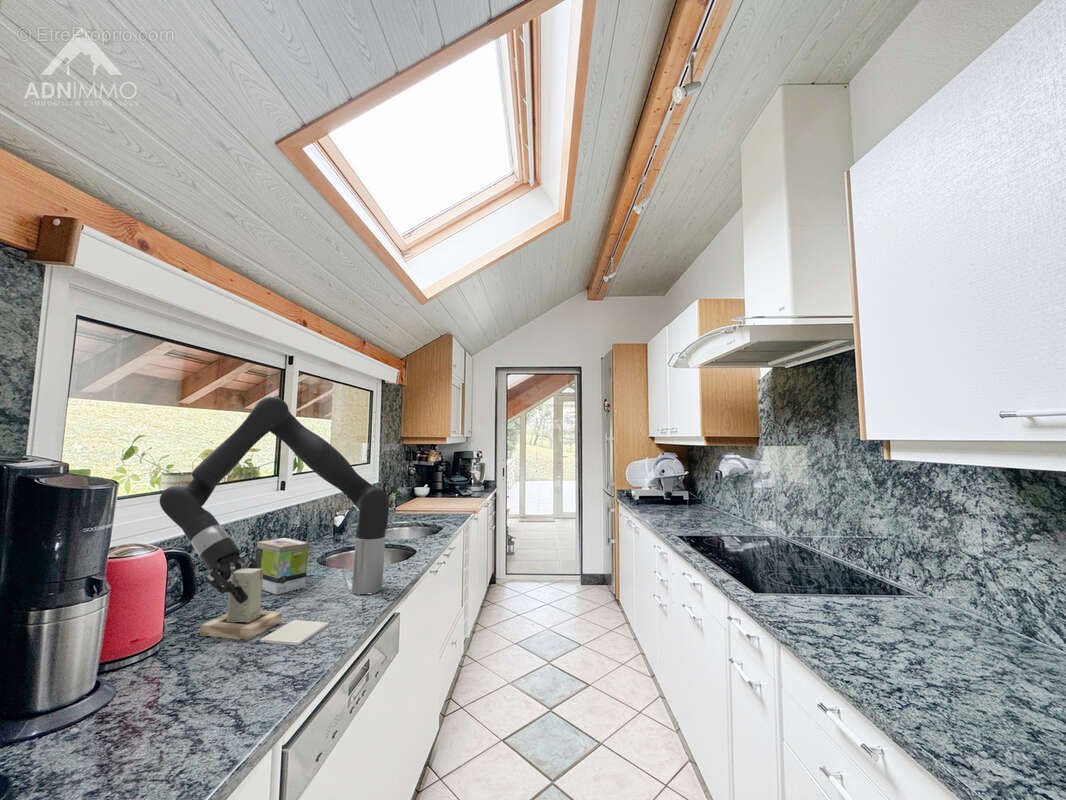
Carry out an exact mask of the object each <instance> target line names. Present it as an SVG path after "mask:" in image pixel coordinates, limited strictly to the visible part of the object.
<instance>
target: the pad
mask: <svg viewBox="0 0 1066 800" xmlns="http://www.w3.org/2000/svg"><path fill="white" fill-rule="evenodd" d="M329 625H330V622H324V621H323V622H322V621H312V620H311V621H310V620H299V619H293V620H292V621H290V622H288V623H286V624H284V625H283V626H281V627H279V628H278V629H276V630H274V631H272V632H271V633H268V634H267V635H266V636H263V637H261V638H260V639H259V642H260V643H264V642H265V643H266V644H267V643H268V644H277V645H278V644H279V645H288V646H289V645H290V646H300V645H301V644H302V643H304V642H306V641H307V640H308V639H311V638H312V637H313V636H314V635H316V634H317V633H319V632H321V631H322V630H323V629H325V628H327V627H329ZM326 626H327V627H326Z"/></svg>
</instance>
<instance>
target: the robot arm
mask: <svg viewBox="0 0 1066 800" xmlns="http://www.w3.org/2000/svg"><path fill="white" fill-rule="evenodd" d="M289 410H290V408H289V405H288V404H287V402H286V401H285V400H283V399H282V398H280V397H277V396H267V397H263V398H262V399H261V398H260V400H258V401H257V402H256V403H255V405H254V407H253V409H252V410H251V412H250V413H249V414H248V415H247V417H246V419H245V420H244V421H243V422H242V423H241V425H239V427H238V428H237V429H236V430H234V432H233V433H231V435H230V436H228V437H227V438H226V439H225V440H224V441H223V442H222V443H220V444H219V445H218V446H217V447H216V448H215V449H214V450H213V451H211V452H210V453H209V454H208V455H207V456H206V457H205V458H204V459H203V460H201V462H200V463H199V464H198V465H197V466H196V467H195V468H193V470H192V472H191V476H192V478H193V479H192V480H191V482H190V483H189V484H188V485H187V486H184V485H180V484H179V485H177V484H176V485H171V486H169V487H167V488H165V489H164V490H163V491H162V493H161V494H160V496H159V506H160V508H161V509H162V511H163V512H164V513H165V514H166V516H167V517H169V519H170V520H172V522H174V523H175V524H176V525H177V526H178V527H179V528H181V530H182V531H183V533H184V534H185V536H186V538H187V539H188V540H189V542H190V543H191V544H192V548H193V550H194V551H195V552H196V554H197V555H198V557H199V558H200V560H201V561H202V562H203V564H204V565H205V566H206V568H207V570H209V571H211V572H209V574H207V575H206V576H205V577H204V580H205V581H206V582H207V583H209V585H210V586H212V587H213V588H214V589H215V590H217V592H219V593H220V594H225V593H228V594H229V593H231V594H232V595H233V597H234V598H235V600H236V601H237V602H239V604H241V603H244V602H245V601H246V600H247V598H248V596H247V595H246V594H245V592H244V591H243V589H242V588H241V587H238V586H239V584H238V582H237V581H236V576H235V575H234V572H235V571H236V570H239V569H246V568H254V569H258V567H257V564H256V562H255V560H256V558H254V557H251V558H250V559H248V560H247V559H244V558H242V557H241V556H240V552H241V551H240V550H241V549H240V548H239V547H238V545H237V544H236V543H235V542H234V540H233V539H232V537H231V536H230V535H229V533H228V532H227V531H226V530H225V529H224V528H223V526H221V524H220V523H219V522H218V520H217V519H216V518H215V517H214V515H213V514H212V513H211V512H210V511H208V510H206V509H205V508H204V507H203V506H204V505H205V503H206V502H207V501H208V499H209V498H210V496H211V495H212V493H213V492H214V490H215V488H216V486H218V484H219V483H220V482H221V481H222V480H223V479H224V478H226V476H227V475H228V474H229V473H230V472H231V471H232V470H233V469H234V468H235V467H236V466H237V465H238V463H240V461H242V459H243V458H244V457H245V456H246V454H247V453H248V452H249V451H250V450H251V449H252V448H253V447H254V446H255V445H256V444H258V442H259V441H260V440H261V439H262V438H264V437H265V436H266V435H267V434H269V433H271V434H272V435H274V436H276V437H277V438H278V439H280V440H281V441H282V442H283V443H285V445H286V446H288V447H289V449H290V450H291V451H292V452H293V453H294V454H295V455H296V456H297V457H298V458H299V459H300V460H301V461H302V463H304V464H305V465H306V466H307V467H308V468H309V469H310V470H312V471H313V472H314V473H315V474H316V475H318V476H319V477H321V478H322V479H323V480H324V481H325V482H327V483H329V484H330V485H332V486H333V487H335V488H336V489H338V490H339V491H341V492H342V493H343V494H344V495H345V496H346V498H348V499H349V500H350V501H351V502H352V503H353V504H354V506H355V507H356V508H357V509H358V510H359V515H358V525H357V528H356V530H355V542H354V543H355V544H354V546H355V547H354V556H353V571H352V573H353V574H352V586H351V593H352V592H353V593H355V594H354V595H356V594H368V593H374V592H377V591H380V590H381V589H382V590H383V586H382V585H383V584H384V583H383V582H384V568H385V567H384V566H385V548H386V547H385V546H386V544H385V543H386V531H387V528H388V523H389V522H388V521H389V511H390V499H389V498H390V497H389V496H388V493H387V492H386V491H385V490H383V489H381V488H378V487H376V486H374V485H373V484H371V483H370V482H368V481H367V480H366V479H364V478H363V477H362V476H360V474H358V473H357V472H356V470H355V469H354V468H353V466H352V465H351V464H350V462H349V461H348V460H347V459H346V457H344V456H343V455H342V453H340V452H339V450H337V449H336V448H335V447H334V446H333V445H332V444H330V443H329V442H328V441H327V440H325V439H324V438H323V437H321V436H320V435H318V434H316V433H314V432H313V431H311V430H310V429H308V428H307V427H305V426H304V425H303V424H302V423H301V422H300V421H299V420H298V419H297V418H296V417H295V416H294V415H293V414H292V413H291V412H290V411H289ZM230 576H231V577H230ZM231 582H232V584H230V583H231ZM221 584H222V585H223V586H222V585H221ZM382 590H381V591H382ZM381 591H380V592H381ZM263 592H264V590H262V593H263ZM353 593H352V594H353Z"/></svg>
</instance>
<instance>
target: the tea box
mask: <svg viewBox="0 0 1066 800" xmlns="http://www.w3.org/2000/svg"><path fill="white" fill-rule="evenodd" d="M309 547H310V542H309V541H308V542H307V541H303V540H298V539H294V538H288V537H282V538H274V539H269V540H268V539H267V540H260V541H257V543H256V549H255V550H256V551H255V562H256V564H257V567H258V569H263V581H262V590H263V591H266V592H267V593H268V592H269V593H271V594H274V595H276V596H277V595H281V594H285V592H286V593H289V591H290V592H292V591H293V590H294V591H297V590H301V589H304V588H305V587H306V584H307V583H306V582H307V571H308V559H309ZM300 588H301V589H300ZM296 589H297V590H296ZM294 591H293V592H294Z"/></svg>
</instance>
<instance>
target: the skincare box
mask: <svg viewBox="0 0 1066 800" xmlns="http://www.w3.org/2000/svg"><path fill="white" fill-rule="evenodd" d="M234 575H235V576H236V581H237V582H238V584H239V586H238V587H241V588H242V589H243V591H244V592H245V594H246V595H247V596H248V598H247V600H246V601H245V602H244V603H241V604H239V602H237V601H236V600H235V598H234V597H233V595H232V594H231V593H228V599H227V613H226V614H227V622H246V623H245V624H250V623H249V622H250V621H252V620H254V619H256V618H258V617H260V613H261V610H262V595H263V594H262V593H263V592H262V581H263V569H254V568H246V569H239V570H236V571H235V572H234ZM230 577H231V576H230ZM230 584H232V582H231V583H230Z"/></svg>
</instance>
